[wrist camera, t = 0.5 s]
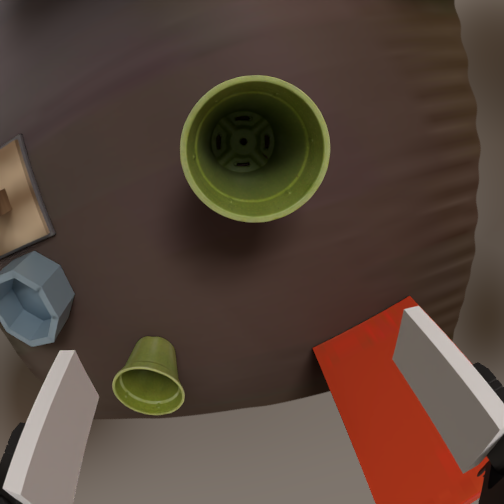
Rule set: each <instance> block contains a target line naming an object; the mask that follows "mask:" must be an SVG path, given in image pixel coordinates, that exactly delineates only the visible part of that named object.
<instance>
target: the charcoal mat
mask: <svg viewBox="0 0 504 504" xmlns="http://www.w3.org/2000/svg"><path fill="white" fill-rule="evenodd" d="M17 139H18V141H19V145H20V149H21V152H22V156H23V159H24V162H25V166H26V169H27V172H28V175H29V178H30V181H31V184H32V187H33V190H34V193H35V195H36V198H37V201H38V204H39V206H40V209H41V212H42V214H43V217H44V219H45V222H46V224H47V227H48V229H49V231H50V233H49V234H48V235H45V236H43V237H41V238H39V239H36V240H34V241H32V242H29V243H27V244H25V245H23V246H21V247H18V248H16V249H14V250H12V251H10V252H8V253H6V254H3V255H1V256H0V259H1V258H3V257H5V256H7V255H10V254H12V253H14V252H16V251H18V250H21V249H23V248H25V247H27V246H30V245H32V244H34V243H36V242H39V241H41V240H43V239H46V238H48V237H50V236H53V235H55V234H56V233H55V230H54V228H53V226H52V223H51V221H50V218H49V216H48V213H47V210H46V208H45V205H44V202H43V200H42V197H41V194H40V191H39V189H38V186H37V183H36V180H35V177H34V174H33V171H32V168H31V164H30V161H29V158H28V154H27V151H26V148H25V144H24V140H23V137H22V134H19V135H17V136H16V137H14V138H13V139H11V140H10V141H8V142H7V143H5V144H4V145H2V146H1V147H0V149H2V148H3V147H5V146H6V145H8V144H9V143H11V142H12V141H14V140H17Z"/></svg>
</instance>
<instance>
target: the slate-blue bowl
mask: <svg viewBox="0 0 504 504" xmlns="http://www.w3.org/2000/svg"><path fill="white" fill-rule="evenodd" d="M74 295H75V293H74V292H73V290H72V288H71V286H70V284H69V282H68V280H67V278H66V276H65V274H64V272H63V270H62V268H61V265H59V264H57V263H55V262H54V261H52V260H50V259H48V258H46V257H45V256H43V255H41V254H39V253H37V252H36V251H32V252H30V253H27V254H25V255H23V256H21V257H18V258H16V259H14V260H12V261H11V262H10V263H9V264H8V265H7V266H6V267H4V268H3V269H2V270H1V271H0V322H1V323H2V325H3V327H4V328H5V330H6V331H7V332H8V333H10V334H11V335H13V336H15V337H16V338H18V339H19V340H21V341H23V342H25V343H26V344H28V345H30V346H32V347H33V346H38V345H43V344H48V343H53V342H54V341H55V339H56V338H57V336H58V334H59V333H60V331H61V329H62V328H63V326H64V324H65V322H66V321H67V319H68V318H69V314H70V310H71V306H72V302H73V299H74Z"/></svg>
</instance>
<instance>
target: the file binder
mask: <svg viewBox="0 0 504 504" xmlns="http://www.w3.org/2000/svg"><path fill="white" fill-rule="evenodd" d="M415 306H419V305H418V304H417V303H416V302H415V301H414V300H413V299H412V298H411V297H410V296H408V297H407V298H405V299H403V300H402V301H400V302H398V303H397V304H395V305H393V306H391V307H390V308H388V309H386V310H384V311H383V312H381V313H379V314H377V315H375V316H374V317H372V318H370V319H368V320H366V321H365V322H363V323H361V324H359V325H357V326H355V327H353V328H351V329H349V330H348V331H346V332H344V333H342V334H340V335H338V336H336V337H334V338H332V339H330V340H328V341H326V342H324V343H322V344H320V345H318V346H316V347H314V348H313V350H314V353H315V355H316V358H317V360H318V362H319V365H320V367H321V369H322V372H323V374H324V377H325V379H326V381H327V384H328V386H329V389H330V391H331V393H332V396H333V398H334V401H335V403H336V406H337V408H338V410H339V413H340V415H341V418H342V420H343V423H344V425H345V428H346V430H347V432H348V435H349V437H350V440H351V442H352V445H353V447H354V450H355V452H356V455H357V457H358V459H359V462H360V465H361V467H362V470H363V472H364V475H365V477H366V480H367V482H368V485H369V488H370V490H371V493H372V495H373V498H374V500H375V503H376V504H470V503H472V502H474V501H475V500H477V499H478V498H480V495H481V491H482V486H483V481H484V477H483V475H484V474H485V471H484V472H483V473H482V474H481V475H480V476H479V477H478V476H477V474H478V472H479V471H480V469H481V468H482V467H483V466H484V465H485V464H486V463H487V462H488V461H489V459H488V458H487V456H486V457H485V458H484V459H483V460H482V462H481V463H480V464H479V465H477V466H476V467H474V468H472V469H471V470H469V471H467V472H465V473H464V474H463V473H462V471H461V469H460V468H459V466H458V464H457V462H456V461H455V459H454V457H453V455H452V454H451V452H450V450H449V449H448V447H447V445H446V444H445V442H444V440H443V439H442V437H441V435H440V434H439V432H438V430H437V429H436V427H435V425H434V424H433V422H432V420H431V419H430V417H429V416H428V414H427V412H426V411H425V409H424V407H423V406H422V404H421V403H420V401H419V400H418V398H417V396H416V395H415V393H414V392H413V390H412V389H411V387H410V385H409V384H408V382H407V381H406V379H405V378H404V376H403V375H402V373H401V372H400V370H399V369H398V367H397V366H396V364H395V363H394V361H393V360H392V358H393V354H394V350H395V346H396V342H397V338H398V334H399V329H400V325H401V320H402V316H403V311H404V309H407V308H411V307H415ZM419 307H420V306H419ZM420 308H421V307H420ZM421 309H422V308H421ZM422 310H423V309H422ZM423 311H424V310H423ZM424 312H425V311H424ZM425 313H426V312H425ZM426 314H427V313H426ZM427 315H428V314H427ZM434 323H435V322H434ZM435 324H436V323H435ZM436 325H437V324H436ZM437 326H438V325H437ZM438 327H439V326H438ZM439 328H440V327H439ZM440 329H441V328H440ZM445 335H446V334H445ZM446 336H447V335H446ZM447 337H448V336H447ZM448 338H449V337H448ZM449 339H450V338H449ZM450 340H451V339H450ZM454 345H455V344H454ZM455 346H456V345H455ZM456 347H457V346H456ZM457 348H458V347H457ZM462 354H463V353H462ZM463 355H464V354H463ZM464 356H465V355H464ZM465 357H466V356H465ZM468 361H469V360H468ZM469 362H470V361H469ZM470 363H471V362H470ZM471 364H472V363H471Z"/></svg>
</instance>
